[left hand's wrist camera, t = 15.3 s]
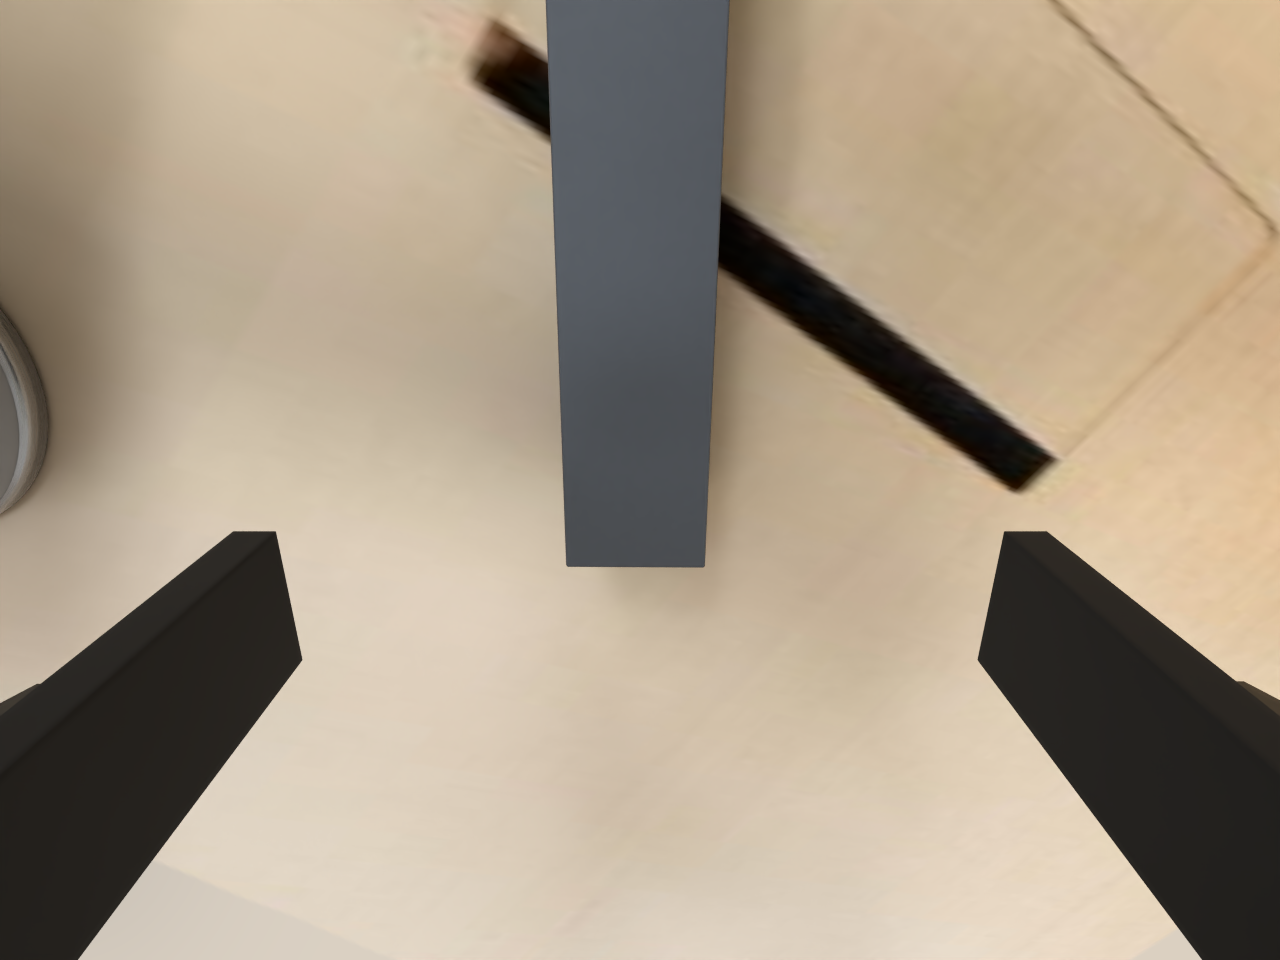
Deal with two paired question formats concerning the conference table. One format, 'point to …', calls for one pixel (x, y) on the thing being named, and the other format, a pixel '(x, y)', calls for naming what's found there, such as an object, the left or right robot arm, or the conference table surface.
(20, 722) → the left robot arm
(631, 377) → the post
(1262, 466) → the conference table surface
